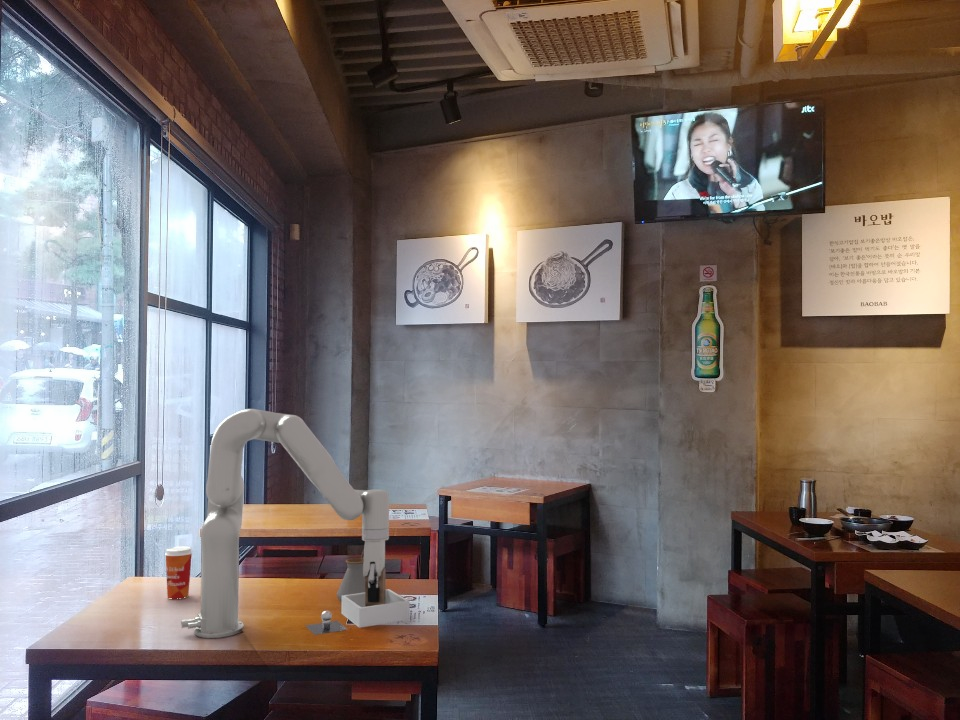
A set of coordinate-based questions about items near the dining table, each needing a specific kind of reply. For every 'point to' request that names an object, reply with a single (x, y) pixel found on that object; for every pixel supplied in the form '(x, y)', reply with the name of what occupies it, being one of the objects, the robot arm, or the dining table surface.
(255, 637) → the dining table surface
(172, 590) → the coffee cup
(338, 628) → the stud plate
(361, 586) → the coffee pot
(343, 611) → the grey bin
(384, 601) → the walnut post
